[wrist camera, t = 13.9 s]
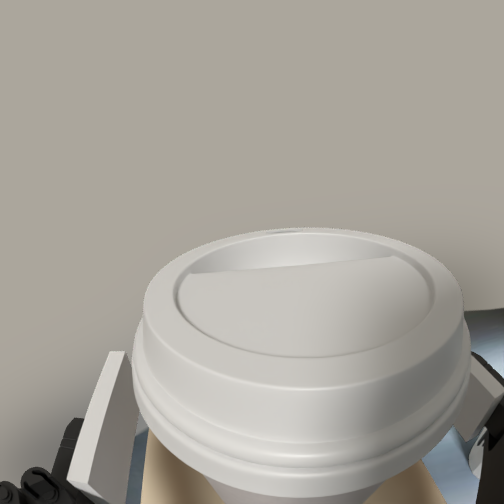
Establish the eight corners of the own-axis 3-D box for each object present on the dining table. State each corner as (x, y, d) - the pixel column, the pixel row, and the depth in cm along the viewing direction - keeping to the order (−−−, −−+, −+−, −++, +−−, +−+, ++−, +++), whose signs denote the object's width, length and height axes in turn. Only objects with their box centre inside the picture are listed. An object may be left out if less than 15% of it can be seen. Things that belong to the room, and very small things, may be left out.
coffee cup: (378, 449, 15) (441, 228, 10) (355, 575, 7) (563, 426, 1) (244, 430, 18) (216, 219, 13) (184, 539, 10) (27, 339, 5)
